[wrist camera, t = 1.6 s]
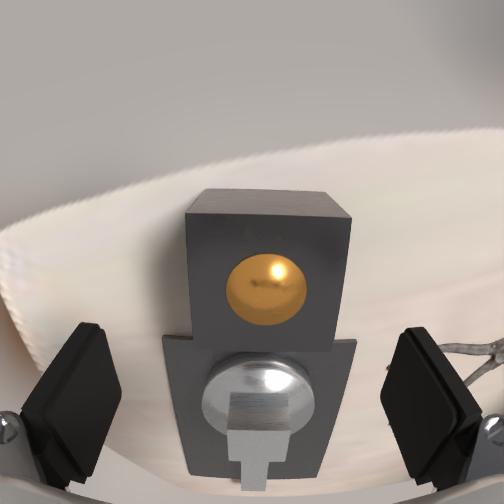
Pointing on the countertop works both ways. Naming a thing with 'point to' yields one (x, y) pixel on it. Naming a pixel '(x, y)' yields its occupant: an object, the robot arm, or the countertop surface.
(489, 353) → the pliers
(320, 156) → the countertop surface
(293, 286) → the socket
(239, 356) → the lever switch plate
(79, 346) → the robot arm
